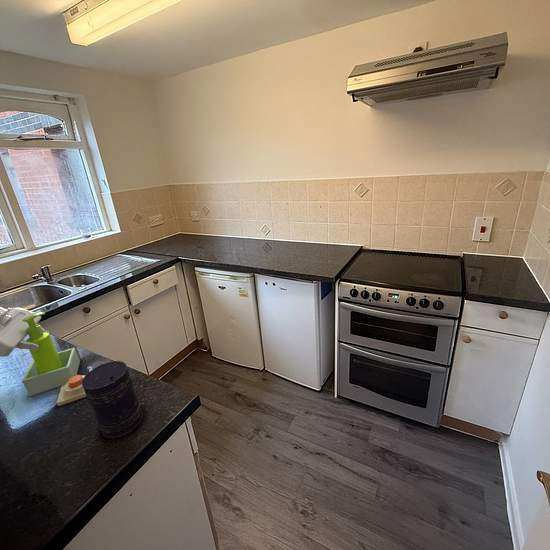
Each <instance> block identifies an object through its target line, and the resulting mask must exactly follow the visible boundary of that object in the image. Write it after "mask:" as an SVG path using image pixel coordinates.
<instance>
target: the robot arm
mask: <svg viewBox="0 0 550 550" xmlns="http://www.w3.org/2000/svg"><path fill="white" fill-rule="evenodd" d="M36 313H37V312H34V311H31V310H28V309H25V308H21V307H7V308H4V307H2V306H0V357H9V356H10V355H11V354H12V353H13V351H15V350H16V348H17V349H19V350H29V349H30V350H33V351H36V350H37V349H38V347H39V346H40V344H39V343H36V342H34V343H29V342H26V339H25V338H26V337H27V336H29V335H28V332H27V331H26V329H27V328H28V327H29V326H28V324H27V322H23V321H22V320H23V319H24V318H26V317H28V316H30V315H33V314H36ZM41 319H42V315H41V316H38V317H36V318H34V321H35V324H37V325H39V322H40V320H41ZM41 329H42V331H43V333H49V334H50V332H49V331H48V330H46V329H45V328H44V327H42V326H41Z"/></svg>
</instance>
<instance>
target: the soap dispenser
mask: <svg viewBox="0 0 550 550" xmlns="http://www.w3.org/2000/svg"><path fill="white" fill-rule="evenodd" d="M35 313H36V314H33V315H30V316H28V317H26V318H24V319H23V320H22V321H23V322H27V324H28V326H29V327H28V328H27V329H26V331H27V332H28V335H27V336H28V338H27V339H25V341H26V342H29V343H34V342H36V343H39V344H40V346H39V347H38V349H37V350H36V351H33V350H30V349H28V350H29V353H30V355H31V357H32V360H34V362H35V364H36V366H37V368H38V371H39V373H40V374H44V373H47V372H50V371H53V370H57V369H60V368H63V366H62V363H61V361H60V359H59V356H58V354H57V353H58V352H57V349H56V347H55V345H54V342H53V339H52V337H51V335H50V332H49V333H43V331H42V329H41V327H42V326H41V325H40V324H38V323H37V324H38V325H37V324H35V321H34V318H36V317H38V316H41V317H42V316H45V314H46V312H35Z"/></svg>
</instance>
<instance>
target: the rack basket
mask: <svg viewBox="0 0 550 550" xmlns="http://www.w3.org/2000/svg"><path fill="white" fill-rule="evenodd" d="M57 354H58V356H59V359H60V361H61V363H62V366H63V368H60V369H57V370H53V371H50V372H47V373H44V374H40V373H39V371H38V368H37V366H36V364H35V362H34V359H32V360H31V363H30V365H29V366H28V368H27V371H26V372H25V374H24V377H23V378H22V380H21V383H22V385H23V386H24V387H25V388H24V389H25V390H26V392H27V394H28V396H29V397H31V396H34V395H37V394H41V393H43V392H47V391H50V390H53V389H56V388H59V387H62V386H63V385H65V384H66V383H67V382H68V380H69V379H70V378H72V377H74V376H76V375H78V370H79V367H80V363H81V359H80V357H79V354H78V351H77V350H76V347H72V348H69V349H65V350H62V351H58V352H57Z"/></svg>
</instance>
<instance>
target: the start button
mask: <svg viewBox="0 0 550 550" xmlns="http://www.w3.org/2000/svg"><path fill="white" fill-rule="evenodd" d="M82 376H83V375H82V374H77V375H76V376H74V377H72V378H70V379H69V380H68V384H69V386H70V388H75V387H78V386H79V385H81V384H82V380H83V378H82Z"/></svg>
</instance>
